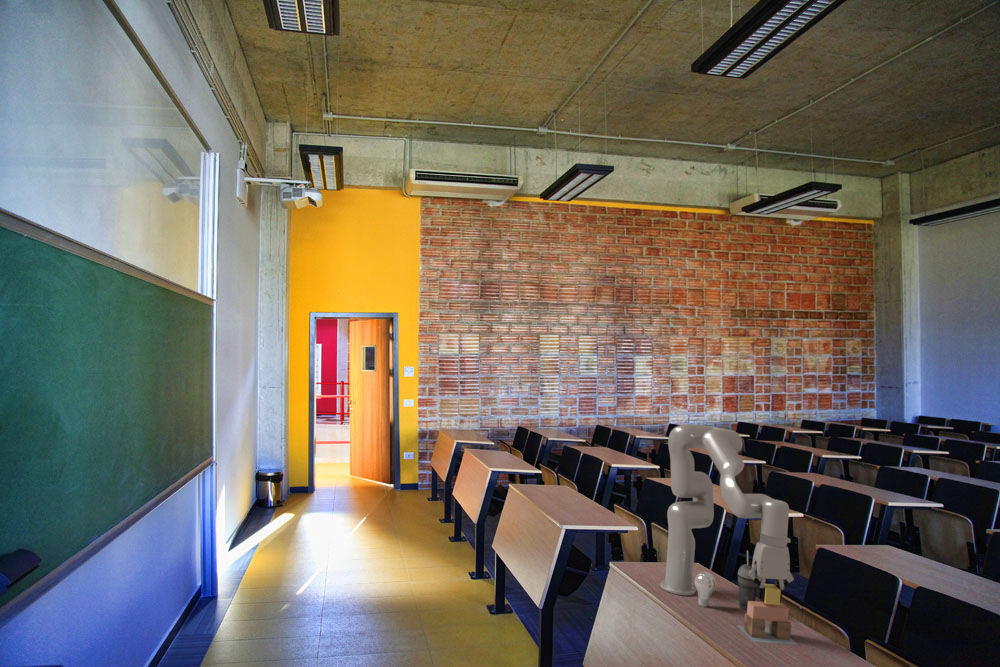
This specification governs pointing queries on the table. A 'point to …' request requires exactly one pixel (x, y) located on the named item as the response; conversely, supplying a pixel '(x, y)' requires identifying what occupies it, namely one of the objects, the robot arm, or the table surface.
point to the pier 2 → (780, 629)
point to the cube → (772, 594)
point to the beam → (767, 611)
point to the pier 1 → (754, 627)
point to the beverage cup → (746, 585)
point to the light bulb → (704, 587)
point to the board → (768, 638)
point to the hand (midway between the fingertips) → (768, 599)
